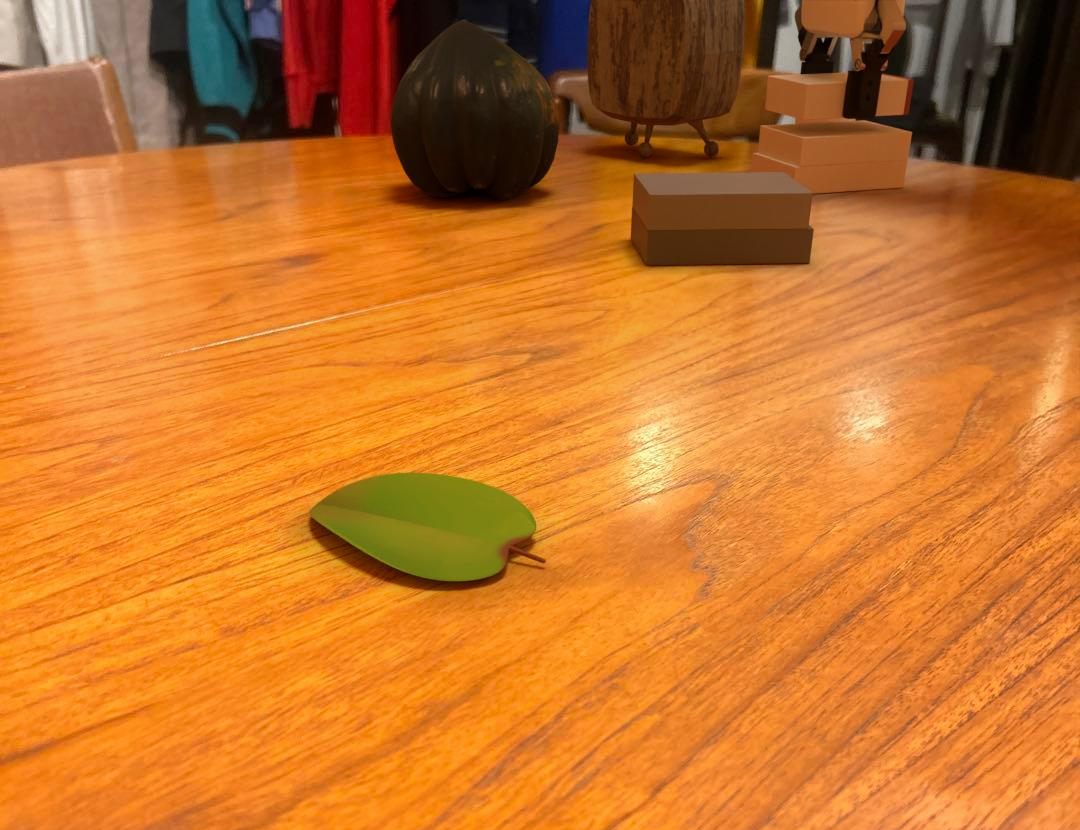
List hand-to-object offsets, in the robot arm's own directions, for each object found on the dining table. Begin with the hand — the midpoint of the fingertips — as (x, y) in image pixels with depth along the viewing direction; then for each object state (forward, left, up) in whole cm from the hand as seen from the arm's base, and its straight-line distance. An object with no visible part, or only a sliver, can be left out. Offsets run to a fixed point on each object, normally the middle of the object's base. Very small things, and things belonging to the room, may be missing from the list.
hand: (835, 110), depth 102 cm
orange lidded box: (0, 0, -7) cm, 7 cm away
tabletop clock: (+14, -16, -7) cm, 22 cm away
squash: (+34, +3, -7) cm, 35 cm away
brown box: (+16, +25, -7) cm, 30 cm away
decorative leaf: (+37, +69, -7) cm, 79 cm away
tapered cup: (-4, -15, -7) cm, 17 cm away
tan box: (0, 0, 0) cm, 0 cm away
